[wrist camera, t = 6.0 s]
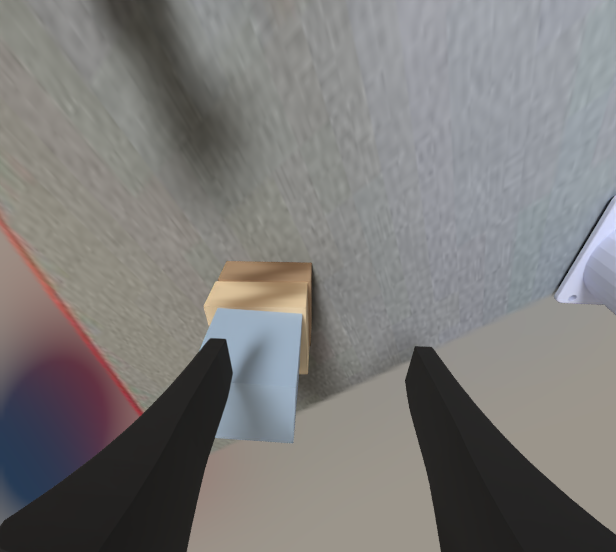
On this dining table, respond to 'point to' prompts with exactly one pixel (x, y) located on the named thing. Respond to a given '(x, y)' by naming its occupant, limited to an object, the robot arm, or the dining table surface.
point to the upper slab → (264, 304)
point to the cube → (259, 373)
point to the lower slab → (270, 275)
